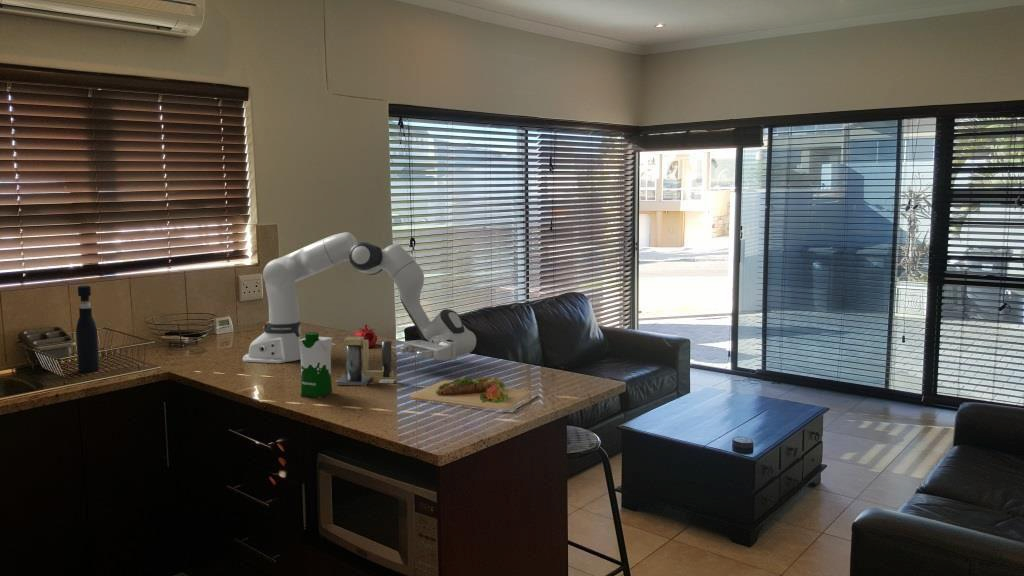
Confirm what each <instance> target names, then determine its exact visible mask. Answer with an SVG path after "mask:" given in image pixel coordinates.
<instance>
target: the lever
mask: <svg viewBox="0 0 1024 576" xmlns="http://www.w3.org/2000/svg"><path fill="white" fill-rule="evenodd" d="M362 343H363V348H362V372H363V374H364V376H365V377H371V378H372V377H374V378H375V377H377V378H379V377H380V378H381V377H382V378H393V376H394V370H392V368H393V367H392V365H393V364H392V359H393V356H392V353H393V352H392V341H391V340H383V341H381V370H379V369H378V370H377V369H376V370H374V369H373V370H370V369H369V368H370V367H369V366H370V365H369V361H370V359H369V357H370V356H369V353H370V352H369V350H370V349H369V348H370V347H369V343H368V340H364V337H354V336H346V337H344V339H343V345H344V346H346V345H361V344H362Z"/></svg>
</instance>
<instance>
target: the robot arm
mask: <svg viewBox="0 0 1024 576" xmlns="http://www.w3.org/2000/svg"><path fill="white" fill-rule="evenodd" d="M344 262H345V263H346V262H349V263H350V265H351V266H352V268H354V269H355V270H357V271H358V272H360V273H363V274H366V275H369V276H372V275H373V276H374V275H377V274H379V273H380V272H382V271H385V272H386V273H387V275H389V277H390V279H392V281H393V282H394V284H395V285H396V288H397V290H398V293H399V296H400V297H399V299H400V301H401V304H402V306H403V308H404V309H405V312H406V313H407V315H408V316H409V318H410V320H411V321H412V323H413V325H414V327H416V328H415V329H416V330H417V331H418V333H419V336H420V339H416V340H415V339H414V340H405V341H404V342H403V346H402V347H400V348H399V350H400V351H399V352H400V353H401V354H402V353H403V354H405V353H408V354H409V353H410V354H414V355H416V356H417V357H419V358H429V359H434V360H437V361H445V360H449V361H454V360H456V359H457V358H456V357H462V356H464V355H468V354H469V353H472V352H473V351H474V349H475V348H476V345H477V337H476V335H475V334H474V332H473V331H471V330H469V329H468V328H467V327H466V326H465V325H464V322H463V321H462V317H461V316H460V314H458V313H457V312H456V311H455V310H452V309H448V308H447V309H446V308H445V309H442V310H441V311H440V312H439V313H438V314H437V315H436V316H435V317H434V318H433V319H432V320H430V318H429V316H428V315H427V313H426V311H425V310H424V309H423V307H422V305H421V299H420V298H421V293H422V290H423V286H424V283H425V274H424V272H423V269H422V268H421V265H419V264H418V263H417V262H416V260H415V259H414V258H413V256H411V254H410V253H409V252H408V251H406V250H405V248H404V247H402V246H401V245H399V244H390V245H388V246H386V247H385V248H383V249H382V248H381V247H379V246H377V245H374V244H372V243H369V242H365V241H364V242H362V241H361V242H358V239H357V238H356V236H354V234H353V233H351V232H348V231H346V232H345V231H344V232H340V233H336V234H332V235H329V236H327V237H325V238H322V239H319V240H317V241H315V242H313V243H310V244H308V245H305V246H304V247H302V248H299V249H297V250H295V251H293V252H290V253H288V254H286V255H283V256H280V257H278V258H274V259H272V260H270V261H269V262H267V263H266V265H265V266H264V268H263V272H262V277H263V281H264V283H265V284H264V285H265V290H266V295H267V301H268V302H267V303H268V320H269V321H266V322H265V324H264V325H263V328H262V329H263V330H264V332H262V334H260V335H259V336H257V337H256V338H255V339H254V340H253V341H251V343H250V344H249V348H248V353H246V354H245V355H243V357H242V362H249V363H250V362H251V363H264V364H265V363H266V364H267V363H268V364H284V363H287V362H294V361H298V360H301V352H300V346H299V340H301V334H302V330H301V329H302V327H301V321H300V303H299V302H300V301H299V299H298V295H297V289H296V283H297V282H299V281H302V280H304V279H307V278H309V277H311V276H313V275H316V274H319V273H322V272H324V271H326V270H328V269H331V268H333V267H335V266H338V265H339V264H341V263H344Z"/></svg>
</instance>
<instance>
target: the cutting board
mask: <svg viewBox="0 0 1024 576" xmlns="http://www.w3.org/2000/svg"><path fill="white" fill-rule="evenodd" d="M505 386H506V384H505V382H504V381H500V380H499V378H498V377H494V376H492V377H490V378H489V377H488V378H487V377H485V376H480V377H478V378H476V379H468V377H467V376H466V375H463V376H461V378H459V379H455V380H448V379H446V380H445V379H444V380H441V381H439V382H437V383H434V384H432V385H430V386H427V387H426V388H423V389H421V390H419V391H417V392H414V393H412V394H410V395H409V399H410V398H412V399H413V400H420V401H431V402H432V401H433V402H440V403H446V404H454V405H461V406H469V407H479V408H489V409H490V408H491V409H492V408H493V409H503V410H505V409H511V408H512V407H514V406H515V405H516V404H517V403H518V402H520V400H522V399H523V398H524V397H526V395H528V393H530V392H531V391H532V390H529V389H522V388H521V389H520V388H512V387H511V388H510V387H505ZM413 400H412V401H413Z"/></svg>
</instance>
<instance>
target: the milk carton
mask: <svg viewBox="0 0 1024 576" xmlns="http://www.w3.org/2000/svg"><path fill="white" fill-rule="evenodd" d="M304 335H305V338H300V340H299V346H300V352H301V359H300V376H301V377H300V379H301V380H300V396H301V397H309V398H310V397H311V398H316V397H321V398H323V397H325V396H324V395H326V396H327V394H328V395H330V394H332V393H333V386H332V362H331V361H332V357H331V356H332V352H331V351H332V345H333V337H327V336H319V335H320V334H319V332H314V331H313V332H311V331H310V332H306V333H304ZM331 392H332V393H331ZM329 393H330V394H329ZM322 396H323V397H322Z"/></svg>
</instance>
